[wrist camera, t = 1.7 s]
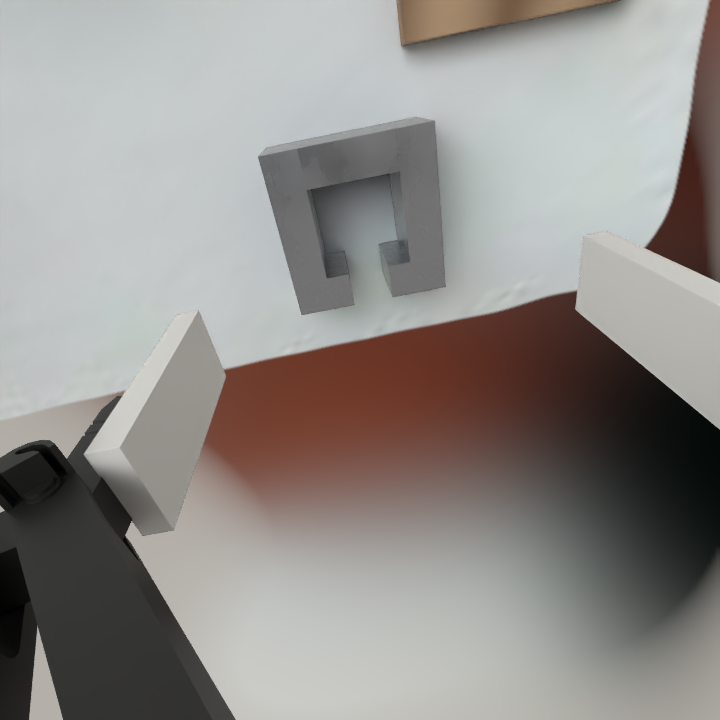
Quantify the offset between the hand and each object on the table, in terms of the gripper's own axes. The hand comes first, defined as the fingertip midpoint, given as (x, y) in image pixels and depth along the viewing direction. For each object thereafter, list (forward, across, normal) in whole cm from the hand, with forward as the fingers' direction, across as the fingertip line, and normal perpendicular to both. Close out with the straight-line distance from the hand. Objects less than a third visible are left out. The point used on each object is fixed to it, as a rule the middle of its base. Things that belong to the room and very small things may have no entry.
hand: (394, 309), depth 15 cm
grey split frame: (+15, 0, 0) cm, 15 cm away
